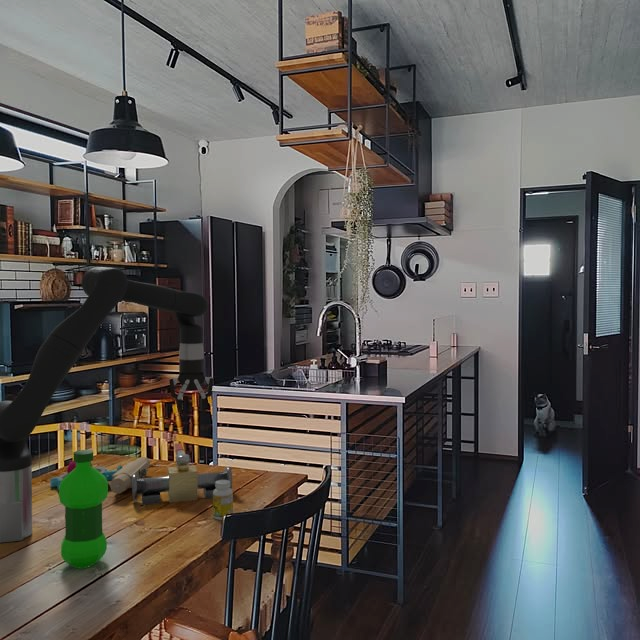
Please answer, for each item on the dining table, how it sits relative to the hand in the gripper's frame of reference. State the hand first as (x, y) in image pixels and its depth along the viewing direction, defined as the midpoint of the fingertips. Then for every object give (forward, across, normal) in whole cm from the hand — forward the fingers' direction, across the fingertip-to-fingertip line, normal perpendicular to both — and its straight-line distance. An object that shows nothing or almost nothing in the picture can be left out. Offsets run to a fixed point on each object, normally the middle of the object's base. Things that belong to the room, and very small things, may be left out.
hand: (191, 410), depth 193 cm
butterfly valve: (+24, -28, +5) cm, 37 cm away
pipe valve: (+24, -3, -13) cm, 27 cm away
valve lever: (+13, -4, -6) cm, 15 cm away
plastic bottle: (+24, -25, -53) cm, 64 cm away
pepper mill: (+24, -29, -34) cm, 50 cm away
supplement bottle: (+24, +7, -31) cm, 40 cm away
